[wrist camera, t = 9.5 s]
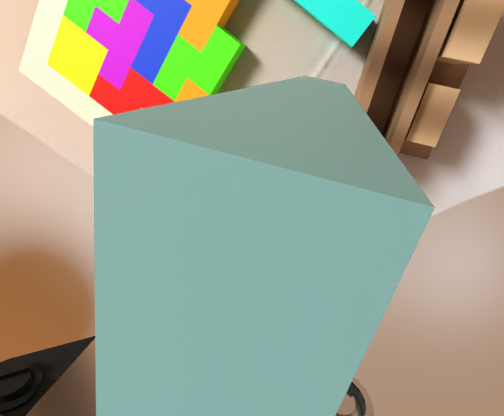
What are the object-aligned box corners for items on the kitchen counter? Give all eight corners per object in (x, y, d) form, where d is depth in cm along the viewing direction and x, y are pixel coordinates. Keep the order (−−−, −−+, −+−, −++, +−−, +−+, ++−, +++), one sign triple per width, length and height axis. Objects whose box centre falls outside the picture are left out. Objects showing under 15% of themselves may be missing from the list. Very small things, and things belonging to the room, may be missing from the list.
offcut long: (454, -17, 29) (482, -36, 23) (486, -11, 28) (521, -29, 23) (425, 58, 31) (444, 56, 26) (454, 64, 31) (479, 64, 25)
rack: (396, -38, 30) (411, -63, 24) (501, -19, 29) (544, -42, 23) (341, 136, 36) (342, 149, 31) (424, 156, 35) (442, 174, 30)
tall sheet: (305, 76, 16) (93, 119, 2) (345, 84, 16) (435, 208, 2) (257, 271, 21) (97, 684, 7) (287, 280, 21) (186, 728, 7)
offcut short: (417, 80, 32) (429, 82, 28) (444, 86, 32) (460, 89, 28) (397, 131, 34) (405, 140, 30) (423, 137, 34) (435, 147, 30)
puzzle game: (38, 70, 42) (225, 212, 44) (18, 70, 40) (218, 221, 41) (135, -230, 29) (395, -10, 31) (114, -260, 26) (401, -18, 28)
